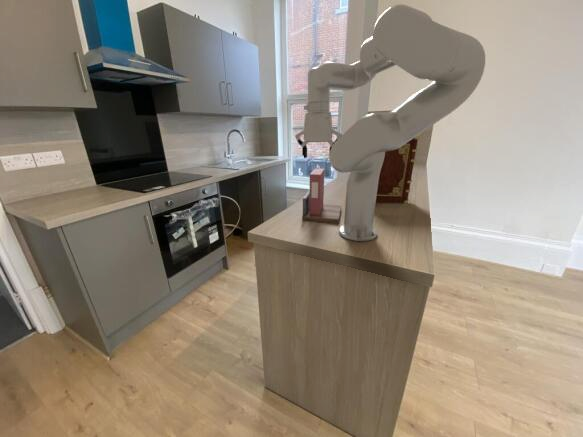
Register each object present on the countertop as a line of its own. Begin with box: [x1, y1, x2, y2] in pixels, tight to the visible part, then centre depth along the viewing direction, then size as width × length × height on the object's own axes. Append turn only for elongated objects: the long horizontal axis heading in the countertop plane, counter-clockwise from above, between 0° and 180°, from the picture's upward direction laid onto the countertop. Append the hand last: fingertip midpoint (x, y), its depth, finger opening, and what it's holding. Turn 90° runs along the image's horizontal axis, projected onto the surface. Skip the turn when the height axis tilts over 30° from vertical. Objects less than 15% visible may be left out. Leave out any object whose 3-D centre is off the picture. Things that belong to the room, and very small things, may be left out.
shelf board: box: [301, 204, 342, 225], centre depth 100 cm, size 16×14×2 cm
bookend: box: [302, 188, 310, 216], centre depth 100 cm, size 14×1×7 cm, turn 166°
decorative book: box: [376, 134, 420, 205], centre depth 111 cm, size 22×8×30 cm, turn 84°
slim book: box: [309, 168, 325, 215], centre depth 98 cm, size 12×4×16 cm, turn 166°
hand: (317, 157), depth 92 cm, fingers open, 9 cm apart
